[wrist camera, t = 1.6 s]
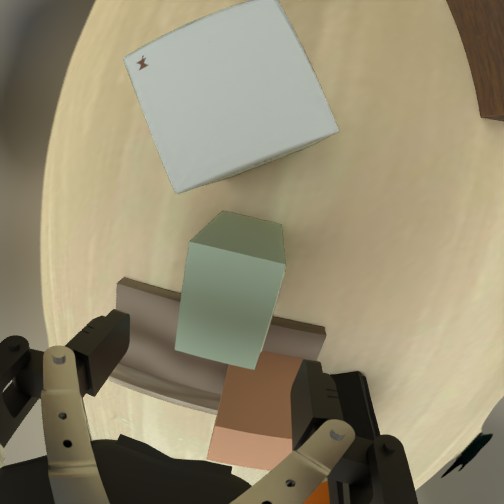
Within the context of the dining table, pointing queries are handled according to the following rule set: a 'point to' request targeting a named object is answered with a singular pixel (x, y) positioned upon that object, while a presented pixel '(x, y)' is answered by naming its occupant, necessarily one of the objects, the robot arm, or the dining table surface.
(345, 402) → the portable radio
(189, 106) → the supplement box
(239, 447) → the terracotta tin
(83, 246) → the dining table surface
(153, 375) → the shallow tray
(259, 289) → the tea tin
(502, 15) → the tissue box cover
